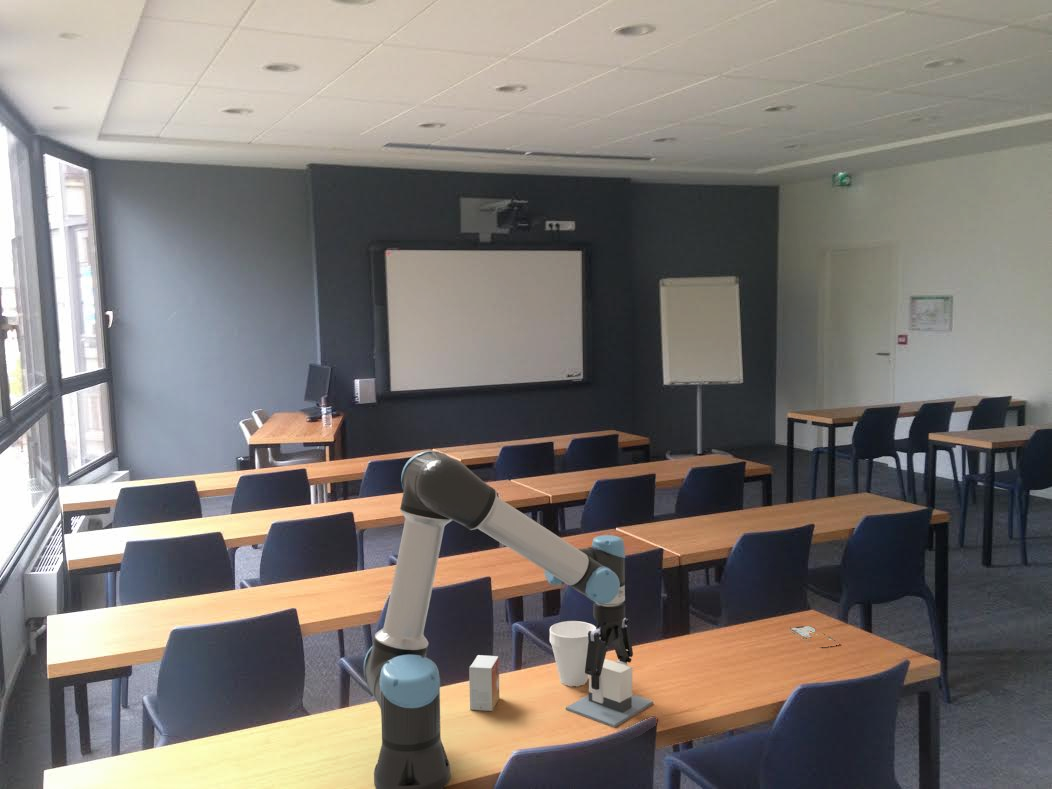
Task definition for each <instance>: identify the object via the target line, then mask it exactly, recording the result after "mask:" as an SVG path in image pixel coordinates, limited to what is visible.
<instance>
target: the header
mask: <svg viewBox="0 0 1052 789" xmlns="http://www.w3.org/2000/svg"><path fill="white" fill-rule="evenodd" d="M653 704H654V700H651V699H649V698H645V697H642V696H639V695H636V694H633V693H632V696H631V697H630V698H628V699H626V700H624V701H622V702H620V703H619V702H617V701H614V700H611V699H608V698H605V697H603V703H602V704H601V703H599V702H596V701H593V700H592V693H590V692H589V690H588V694H587V695H586V696H584V697H582V698H581V699H580V698H579V699H578V700H576V701H575V702H573V703H571V704H569V705H567V706H566V707H565V710H566V711H569V712H571V713H574V714H576V715H580V716H582V717H585V718H588V719H591V720H593V721H595V722H598V723H601V724H604V725H606V726H610V727H612V728H616V727H617V726H619V725H620V724H622V723H624V722H625V721H627V720H629V719H631V718H632V717H634V716H635V715H637V714H639V713H640V712H642V711H644V710H645V709H646V708H649V707H650V706H652V705H653Z"/></svg>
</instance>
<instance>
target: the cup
mask: <svg viewBox="0 0 1052 789" xmlns="http://www.w3.org/2000/svg"><path fill="white" fill-rule="evenodd" d="M595 630H596V626H595V625H594V624H592V623H588V622H586V621H579V620H578V621H577V620H567V621H561V622H558V623H554V624H553V625H551V626H550V627H549V643H550V644H551V647H552V652H553V656H554V660H555V664H556V668H557V672H558V677H559V681H560V683H561V684H562V685H564V686H566V685H568V686H567V687H572V686H576V687H581V686H580V685H582V686H584V685H586V684H587V683H586V682H588V681H589V675H588V674H585V666H586V658H587V649H588V632H589V631H592V632H593V631H595ZM585 683H586V684H585ZM583 684H584V685H583Z"/></svg>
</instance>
